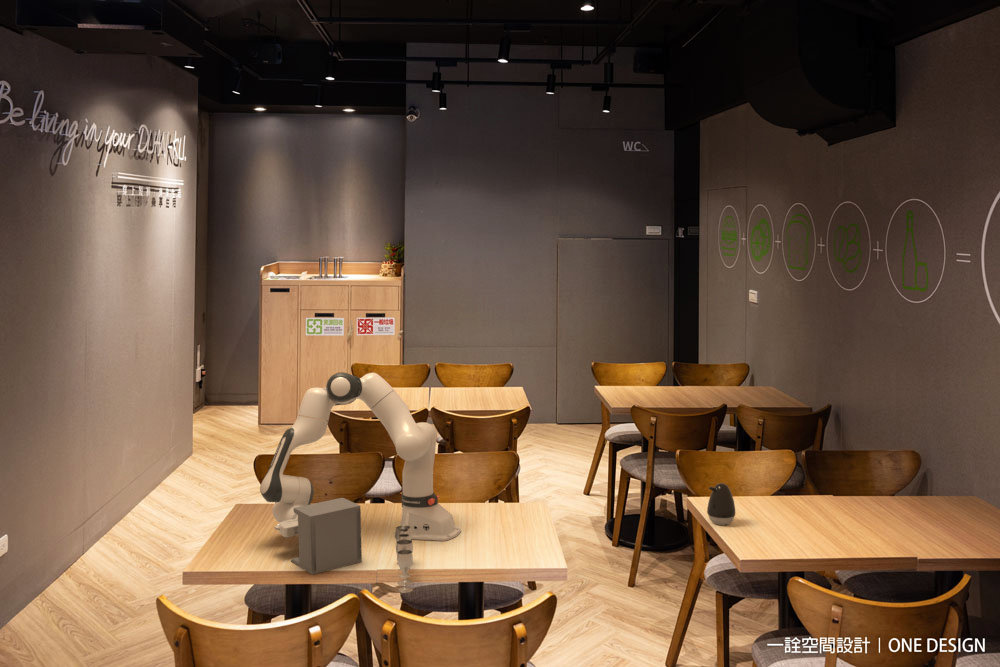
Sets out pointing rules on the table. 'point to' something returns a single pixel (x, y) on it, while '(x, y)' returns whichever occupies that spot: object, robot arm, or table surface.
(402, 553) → the goblet set
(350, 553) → the overhang dock
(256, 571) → the table surface
